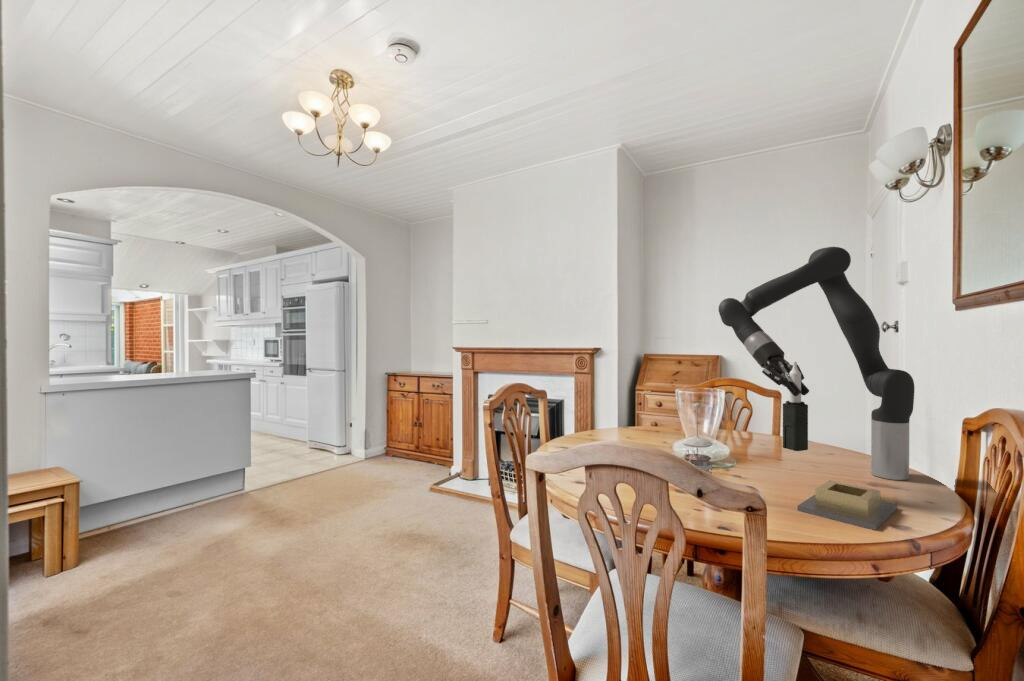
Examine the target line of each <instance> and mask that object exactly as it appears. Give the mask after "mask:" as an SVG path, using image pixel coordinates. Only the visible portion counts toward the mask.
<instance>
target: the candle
mask: <svg viewBox="0 0 1024 681" xmlns="http://www.w3.org/2000/svg"><path fill="white" fill-rule="evenodd" d="M797 363H798V362H797V361H793V364H792V365H793V368H792V370H791V372H790V373H789V375H788V376H789V378H790V379H791V380H792V381H791V382H794V384H795V385H796V386H797V387H798V388H799V389H800V390H801V373H800V371H799V370H798V367H797V365H798V364H797ZM788 391H789V390H788ZM788 396H789V397H788V400H786V401H785V402H784V403H782V448H783V449H786V450H790V451H795V452H802V451H808V450H809V404H807V403H805V402H804V401H802V394H801V393H800V394H799V395H798V396H794V395H793V394H792V393H791V392H790V391H789V392H788Z"/></svg>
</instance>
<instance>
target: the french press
mask: <svg viewBox="0 0 1024 681" xmlns="http://www.w3.org/2000/svg"><path fill="white" fill-rule="evenodd" d="M701 407H702V406H701V404H700V403H699V402H696V403H694V404H693V408H695V409H696V436H691V437H688V438H686V439H684V440H682V444H683V445H684V446H687V447H690V448H696V453H695V450H692V452H691V453H690V450H689V449H686V452H685V453H684V455H683V460H684V459H685V460H687V461H689V462H691V463H692V464H694V465H695V466H697V467H698V468H700V469H701V470H704V471H706V472H708V473H710V474H709V475H711V474H712V475H713V472H712V471H713V463H712V462H711V459H712V457H711V456H709V455H705V454H702V453H701V454H699V448H711V446H713V442H711V441H710V440H708V439H707V438H705V437H700V436H699V432H698V431H699V429H698V428H699V425H698V424H699V421H698V420H699V418H698V416H699V415H698V413H699V409H701ZM710 470H711V471H710Z"/></svg>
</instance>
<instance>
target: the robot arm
mask: <svg viewBox="0 0 1024 681" xmlns="http://www.w3.org/2000/svg"><path fill="white" fill-rule="evenodd" d="M851 259H852V257H851V255H850V253H849V252H848V251H847V249H845V248H843V247H840V246H829V247H828V246H827V247H821V248H820V249H818V248H817V250H814V251H813V252H812V253H811V254H810V256H809V258H808V261H807V263H805V264H804V265H802V266H800V267H798V268H796V269H794V270H792V271H790V272H788V273H785V274H783V275H780V276H777V277H775V278H773V279H771V280H768V281H766V282H764V283H763V284H760V285H758V286H757V287H754V288H752V289H750V290H749V291H747V292H746V293H745V297H744V299H743V300H742V301H740V300H738V299H737V298H734V297H733V298H732V297H728V298H724V299H722V301H721V302H720V303H719V305H718V314H719V316H720V320H721V322H722V324H723V325H725V326H726V327H731V329H733V331H734V333H735V335H736V336H735V337H736V338H738V340H739V341H740V342H741V343H742V344H743V346H744V347H745V349H746V351H747V352H748V353H749V354H750V356H752V358H753V359H754V360H755V361H756V363H757V364H758V365H759V366H760V367H761V368H762V369H763V370H762V371H761V373H762V374H763V375H765V376H766V377H767V378H769V379H770V380H771V381H772V382H774V383H775V384H776V385H778V386H781V385H782V386H783V387H786V389H787V390H788V391H790V392H791V393H792V394H793V395H794V396H798V395H799V394H800V393H801V396H806V395H808V394H809V393H810V389H809V388H808V387H807V385H805V383H803V382H802V381H803V380H805V375H804V374H803V371H802V370H801V368H800V366H799V365H798V364H797V367H798V370H799V371H800V373H801V390H800V389H799V388H798V387H797V386H796V385H795V384H794V382H791V381H792V380H791V379H790V378H789V373H790V372H791V370H792V368H793V365H794V364H791V363H790V362H789V361H787V360H786V359H785V352H784V351H783V349H782V348H781V347H780V346H779V345H778V343H777V342H775V341H774V340H773V338H772V337H771V336H770V335H769V334H768V333H767V332H765V331H764V329H763V328H762V327H761V326H760V325H759V324H758V323H757V322H756V321H755V320H754V319H753V317H754V316H755V315H757V313H758V312H760V311H761V310H763V309H765V308H767V307H770V306H771V305H773V304H775V303H777V302H779V301H781V300H783V299H785V298H787V297H789V296H791V295H793V294H794V293H796V292H798V291H800V290H802V289H805V288H807V287H809V286H812V285H814V284H816V283H817V284H818V285H819V286H820V288H821V290H822V291H823V293H824V295H825V297H826V299H827V302H828V304H829V306H830V309H831V311H832V313H833V315H834V318H835V319H836V322H837V323H838V326H839V328H840V330H841V332H842V335H843V336H844V338H845V339H846V341H847V343H848V345H849V347H850V350H851V352H852V354H853V356H854V358H855V360H856V362H857V365H858V367H859V370H860V374H861V375H862V377H861V378H862V379H863V382H864V385H865V386H866V388H867V390H868V391H869V392H870V393H871V394H872V395H873V396H876V397H880V398H881V400H880V402H881V404H880V406H879V407H878V408H876V409H875V408H874V409H873V410H871V418H870V419H871V422H870V423H871V424H870V425H871V426H870V427H871V430H870V431H871V433H870V434H871V436H870V442H871V443H870V444H871V445H870V446H871V447H870V448H871V449H870V453H871V454H870V455H871V456H870V457H871V460H870V470H871V471H870V473H871V475H873V476H875V477H877V478H881V479H886V480H894V481H907V480H909V479H910V418H911V416H912V414H913V410H914V401H915V400H914V399H915V381H914V379H913V377H912V375H911V374H910V373H909V372H907V371H905V370H902V369H896V368H889V367H888V365H887V364H886V362H885V361H884V358H883V356H882V354H881V352H880V337H881V331H880V330H881V328H880V325H879V323H878V321H877V319H876V317H875V315H874V313H873V311H872V309H871V307H870V306H869V305H868V303H867V302H866V300H864V299H863V298H862V296H861V295H860V294H859V293H858V292H857V291H856V290H855V289H854V288H853V287H852V285H851V283H850V282H849V280H848V277H847V275H846V273H845V272H846V271H848V269H849V268H850V265H851V262H852V260H851Z"/></svg>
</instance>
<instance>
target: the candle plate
mask: <svg viewBox="0 0 1024 681" xmlns="http://www.w3.org/2000/svg"><path fill="white" fill-rule="evenodd" d="M814 490H815V491H814V492H815V494H813V495H812V496H811V497H809V498H808V499H806V500H804V501H803V502H801V503H799V504H798V505H797V511H799V512H802V513H807V514H810V515H815V516H819V517H822V518H826V519H829V520H834V521H838V522H842V523H844V524H845V523H846V524H849V525H853V526H858V527H862V528H865V529H869V530H872V531H876V530H877V531H878V529H879V528H880V527H881V526H882V524H884V523H885V522H886V520H888V518H890V517H891V516H892V515H893V514H894V513H895V512H896V511H897V509H898V503H895V502H890V501H886V500H881V490H880V489H874V488H870V487H865V486H864V487H863V486H859V485H856V484H855V485H854V484H849V483H845V482H840V481H836V480H830V479H829V480H828V481H827V482H825V483H823V484H821V485H819V486H818V487H817V488H815V489H814Z"/></svg>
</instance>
